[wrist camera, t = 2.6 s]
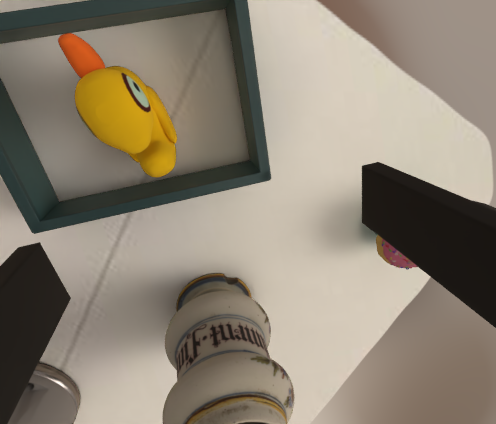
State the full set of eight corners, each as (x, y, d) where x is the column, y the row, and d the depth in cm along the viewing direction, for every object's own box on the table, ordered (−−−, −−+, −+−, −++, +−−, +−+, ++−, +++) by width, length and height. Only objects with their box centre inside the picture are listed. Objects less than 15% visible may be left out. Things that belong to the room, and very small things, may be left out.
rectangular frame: (54, 211, 30) (32, 234, 26) (-33, 35, 24) (-83, 24, 19) (259, 166, 33) (271, 180, 29) (233, -5, 26) (244, -22, 22)
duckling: (69, 62, 26) (9, 52, 17) (124, 32, 26) (93, 7, 17) (145, 173, 31) (130, 211, 22) (190, 149, 31) (194, 177, 22)
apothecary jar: (272, 275, 39) (335, 410, 23) (240, 343, 43) (276, 500, 27) (182, 256, 36) (184, 402, 19) (156, 332, 39) (139, 508, 23)
